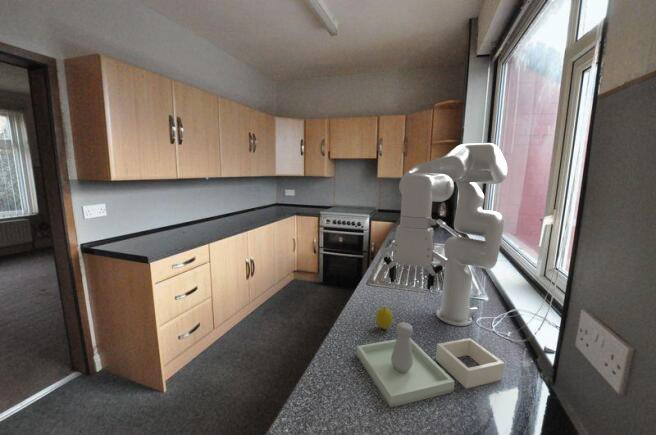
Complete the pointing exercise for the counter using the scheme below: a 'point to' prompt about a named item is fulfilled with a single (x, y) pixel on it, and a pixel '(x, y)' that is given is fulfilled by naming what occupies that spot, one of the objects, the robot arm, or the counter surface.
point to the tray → (404, 374)
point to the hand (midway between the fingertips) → (410, 284)
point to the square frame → (466, 376)
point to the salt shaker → (403, 348)
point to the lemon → (384, 317)
